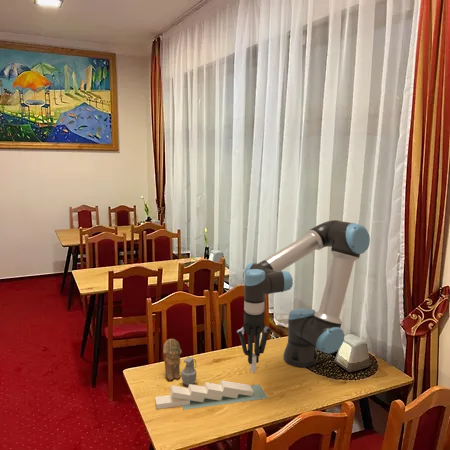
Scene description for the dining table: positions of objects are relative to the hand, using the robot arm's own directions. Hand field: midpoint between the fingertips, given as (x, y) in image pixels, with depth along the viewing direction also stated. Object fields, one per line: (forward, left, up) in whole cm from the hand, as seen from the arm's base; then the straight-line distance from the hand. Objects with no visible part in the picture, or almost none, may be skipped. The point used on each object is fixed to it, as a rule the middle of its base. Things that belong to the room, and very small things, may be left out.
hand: (253, 370), depth 160 cm
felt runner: (+12, 0, -9) cm, 15 cm away
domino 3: (+13, 0, -8) cm, 15 cm away
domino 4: (+7, 0, -8) cm, 10 cm away
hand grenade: (+22, -12, -10) cm, 27 cm away
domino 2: (+20, 0, -8) cm, 21 cm away
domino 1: (+25, 0, -8) cm, 26 cm away
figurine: (+28, -20, -10) cm, 35 cm away
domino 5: (+1, 0, -8) cm, 8 cm away
